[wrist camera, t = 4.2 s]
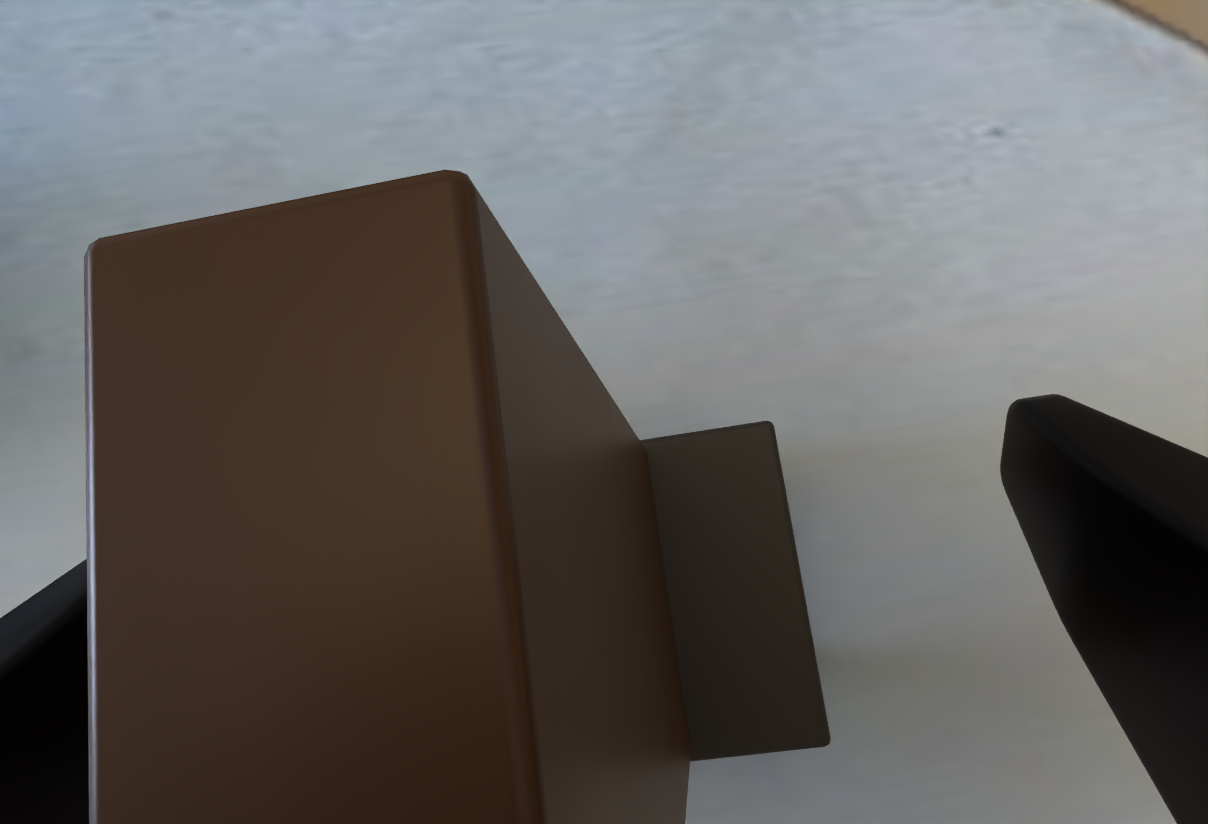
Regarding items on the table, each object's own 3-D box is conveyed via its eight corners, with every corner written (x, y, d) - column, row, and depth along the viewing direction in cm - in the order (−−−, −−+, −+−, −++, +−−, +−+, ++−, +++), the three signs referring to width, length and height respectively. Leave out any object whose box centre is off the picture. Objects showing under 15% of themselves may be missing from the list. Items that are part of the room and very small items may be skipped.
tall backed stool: (792, 683, 14) (1417, 1690, 2) (526, 714, 14) (-471, 1655, 2) (753, 456, 15) (984, 22, 2) (502, 494, 15) (-330, 292, 3)
